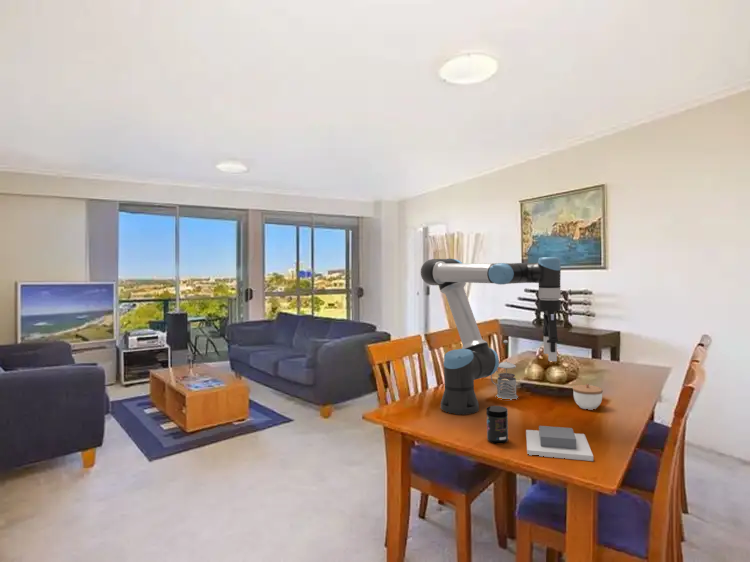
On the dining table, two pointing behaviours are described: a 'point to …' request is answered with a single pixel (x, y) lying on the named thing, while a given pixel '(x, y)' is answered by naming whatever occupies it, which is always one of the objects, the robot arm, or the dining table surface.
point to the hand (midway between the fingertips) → (549, 357)
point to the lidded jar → (587, 396)
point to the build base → (559, 451)
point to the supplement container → (497, 424)
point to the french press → (506, 382)
